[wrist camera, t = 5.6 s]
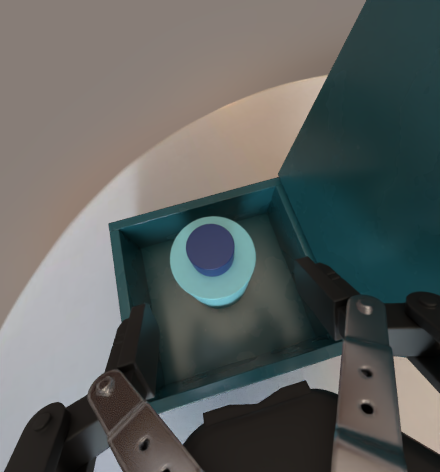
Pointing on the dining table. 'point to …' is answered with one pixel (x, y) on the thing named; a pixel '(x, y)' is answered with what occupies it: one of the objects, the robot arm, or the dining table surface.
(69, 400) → the dining table surface
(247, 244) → the water bottle
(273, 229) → the teal open box
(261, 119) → the dining table surface
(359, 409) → the robot arm
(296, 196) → the teal box lid
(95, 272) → the dining table surface
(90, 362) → the dining table surface
